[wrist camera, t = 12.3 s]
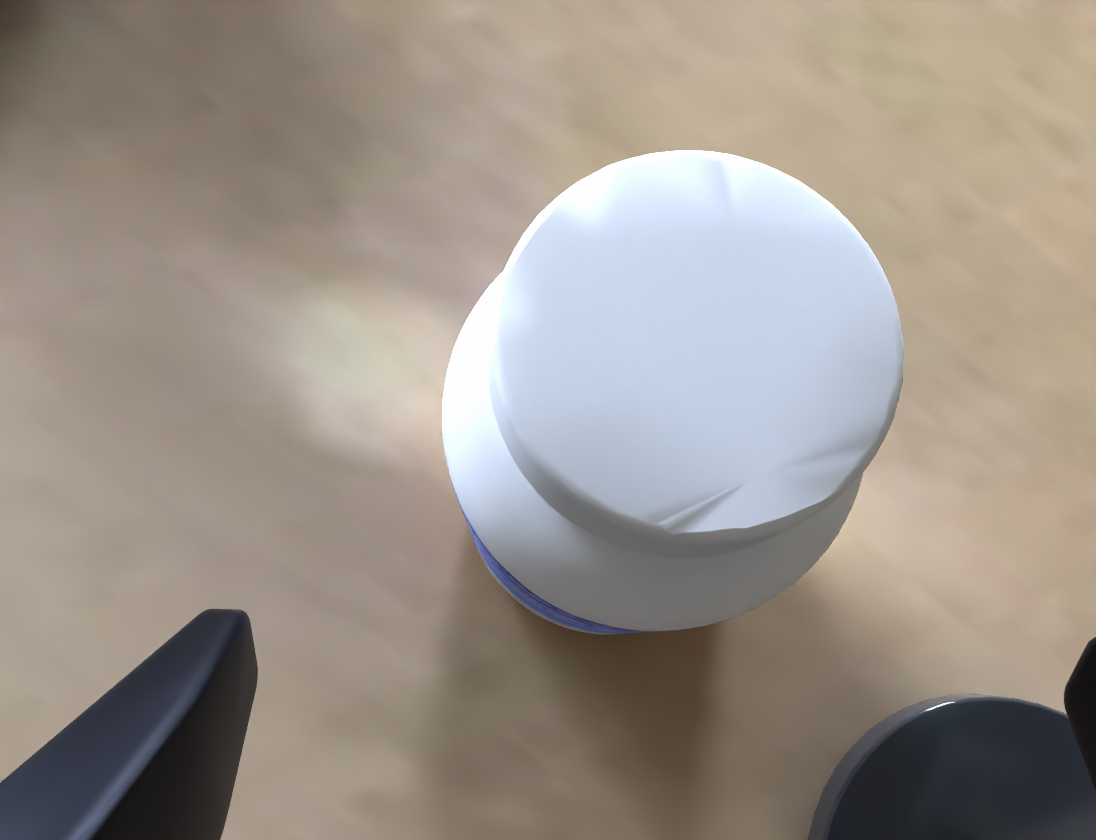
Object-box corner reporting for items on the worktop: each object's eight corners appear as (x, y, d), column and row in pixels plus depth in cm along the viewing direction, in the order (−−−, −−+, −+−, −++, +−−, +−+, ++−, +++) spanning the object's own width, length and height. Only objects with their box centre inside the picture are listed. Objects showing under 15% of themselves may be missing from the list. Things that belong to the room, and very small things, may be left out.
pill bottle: (691, 671, 17) (923, 726, 7) (428, 582, 17) (327, 522, 8) (763, 414, 18) (1039, 181, 9) (518, 333, 18) (527, 19, 9)
